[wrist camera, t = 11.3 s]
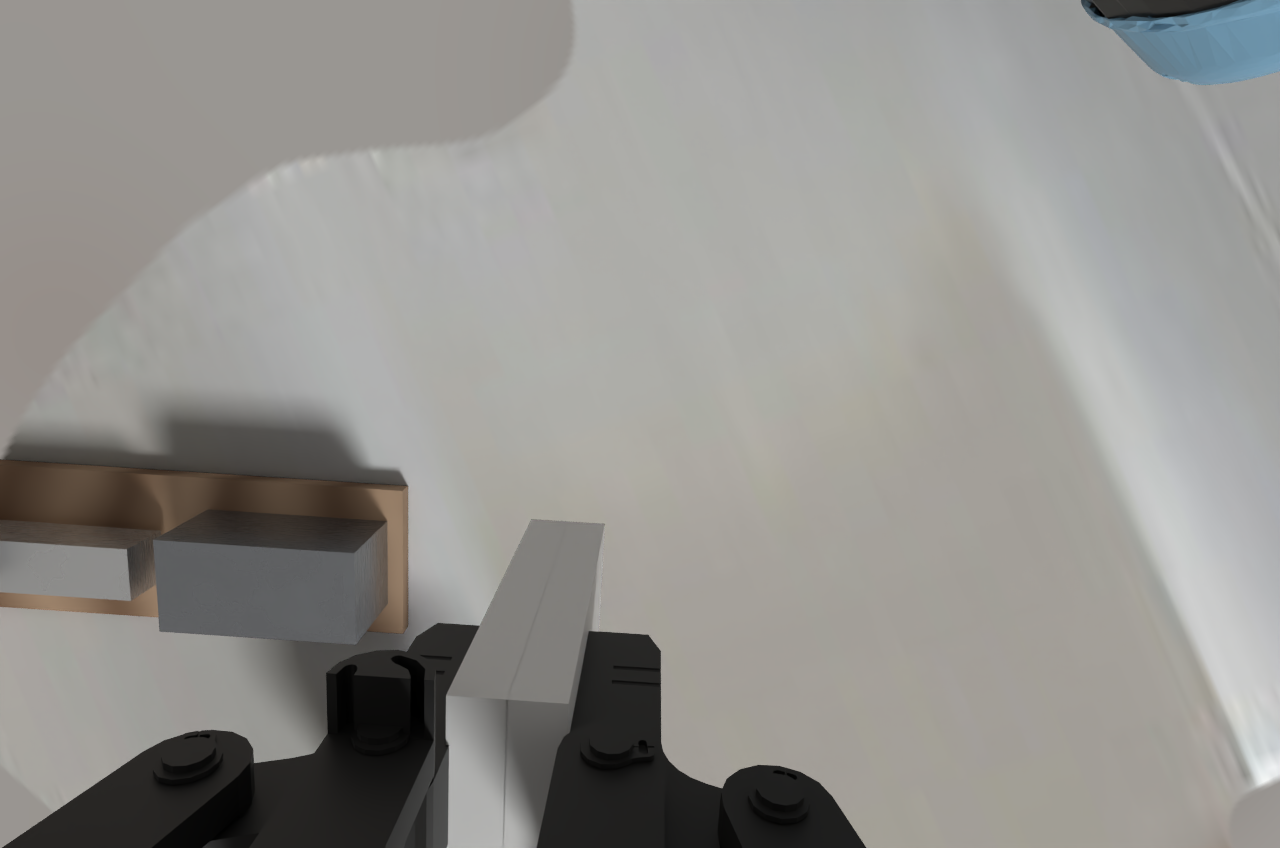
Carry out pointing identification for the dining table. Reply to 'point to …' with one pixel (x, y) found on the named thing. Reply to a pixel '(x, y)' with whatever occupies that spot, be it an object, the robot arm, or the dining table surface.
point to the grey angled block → (76, 560)
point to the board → (191, 516)
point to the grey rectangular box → (272, 576)
